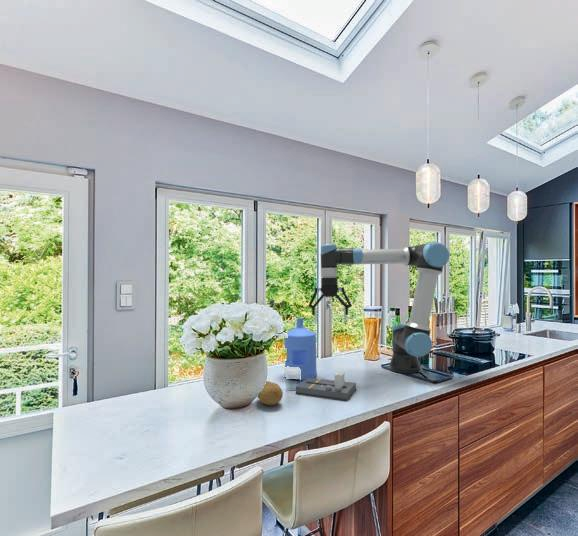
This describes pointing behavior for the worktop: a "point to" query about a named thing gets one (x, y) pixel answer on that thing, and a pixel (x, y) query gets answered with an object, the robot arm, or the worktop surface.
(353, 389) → the console
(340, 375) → the fader
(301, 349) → the water jug
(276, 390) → the potato
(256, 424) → the worktop surface
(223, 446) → the worktop surface
